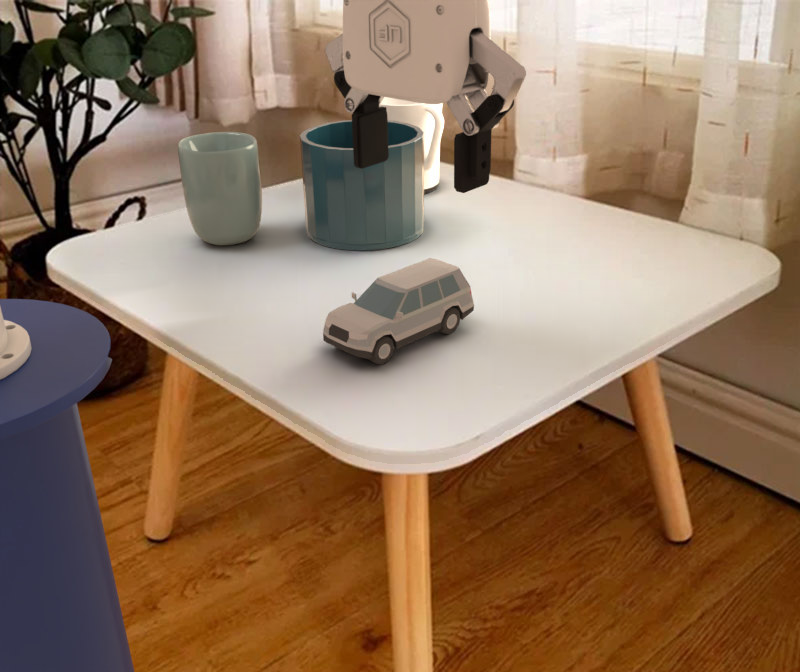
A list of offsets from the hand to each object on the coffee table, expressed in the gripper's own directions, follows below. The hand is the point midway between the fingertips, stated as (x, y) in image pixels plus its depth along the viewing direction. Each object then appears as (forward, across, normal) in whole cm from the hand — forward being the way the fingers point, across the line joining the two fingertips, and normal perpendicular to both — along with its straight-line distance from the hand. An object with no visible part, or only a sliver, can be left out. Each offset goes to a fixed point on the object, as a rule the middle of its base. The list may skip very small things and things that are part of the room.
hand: (419, 175), depth 69 cm
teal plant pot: (+13, -22, +16) cm, 30 cm away
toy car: (+14, -2, -1) cm, 14 cm away
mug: (+14, -28, +30) cm, 43 cm away
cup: (+14, -31, +5) cm, 34 cm away
